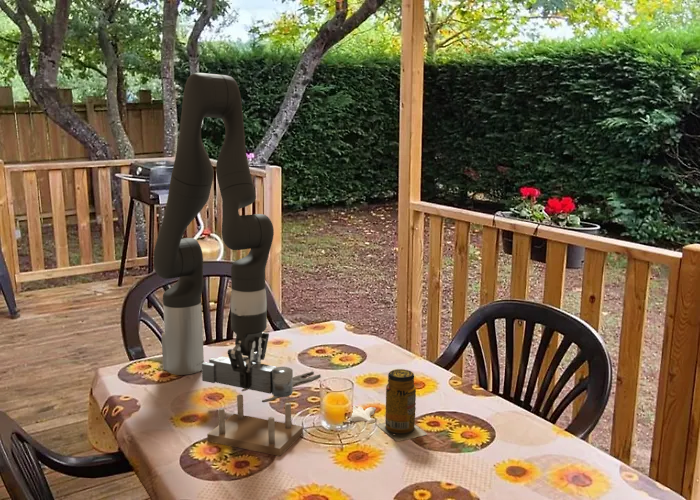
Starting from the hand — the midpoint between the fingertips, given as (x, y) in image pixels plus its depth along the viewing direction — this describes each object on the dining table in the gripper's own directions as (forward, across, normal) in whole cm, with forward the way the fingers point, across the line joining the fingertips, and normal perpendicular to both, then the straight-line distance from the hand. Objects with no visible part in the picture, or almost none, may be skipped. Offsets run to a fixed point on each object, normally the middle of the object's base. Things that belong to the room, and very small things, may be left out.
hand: (249, 384), depth 147 cm
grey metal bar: (0, 0, -1) cm, 1 cm away
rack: (+6, +11, +8) cm, 15 cm away
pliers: (+7, -15, 0) cm, 16 cm away
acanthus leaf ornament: (+6, -6, +24) cm, 25 cm away
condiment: (+5, -3, +34) cm, 34 cm away
